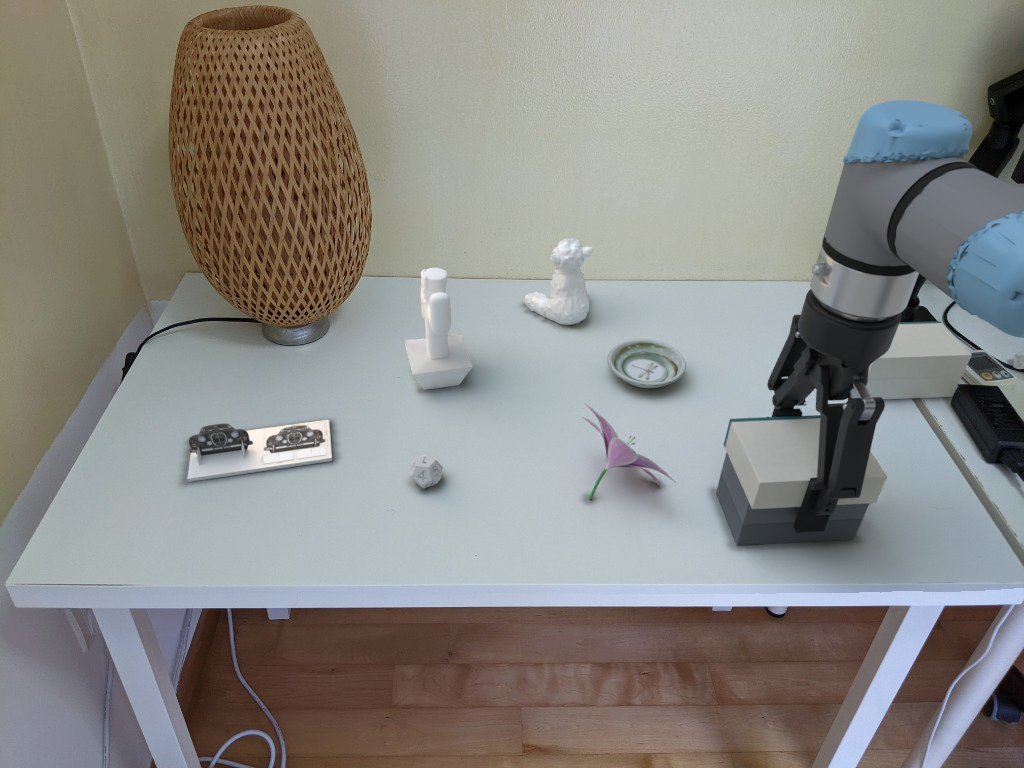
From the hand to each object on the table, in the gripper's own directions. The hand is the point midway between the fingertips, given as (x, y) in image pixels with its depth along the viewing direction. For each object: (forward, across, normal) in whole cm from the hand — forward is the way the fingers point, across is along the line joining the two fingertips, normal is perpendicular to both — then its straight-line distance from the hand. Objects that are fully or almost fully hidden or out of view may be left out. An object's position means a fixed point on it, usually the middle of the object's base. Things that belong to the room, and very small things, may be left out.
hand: (790, 492), depth 77 cm
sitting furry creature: (+4, -39, -17) cm, 43 cm away
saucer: (+4, -24, -9) cm, 26 cm away
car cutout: (+4, -13, -55) cm, 56 cm away
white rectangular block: (+3, -21, +22) cm, 31 cm away
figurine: (+4, -26, -35) cm, 44 cm away
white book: (-3, 0, 0) cm, 3 cm away
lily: (+4, -6, -16) cm, 17 cm away
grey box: (+3, 0, 0) cm, 3 cm away
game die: (+4, -7, -36) cm, 37 cm away
